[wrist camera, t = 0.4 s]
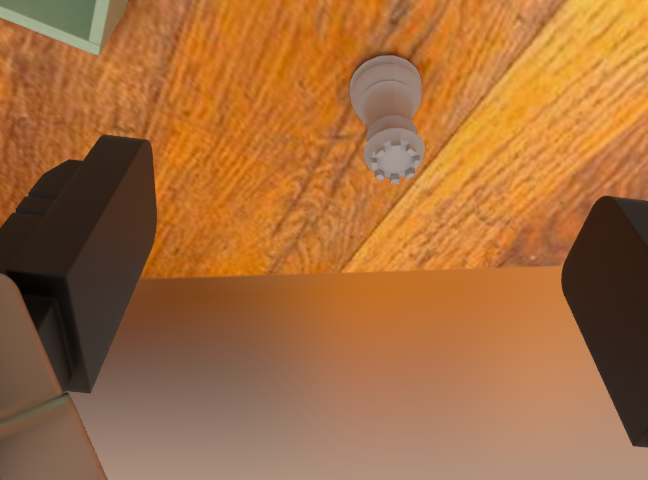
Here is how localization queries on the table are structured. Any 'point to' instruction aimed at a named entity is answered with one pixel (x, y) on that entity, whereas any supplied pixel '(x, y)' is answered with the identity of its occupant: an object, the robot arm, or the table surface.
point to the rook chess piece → (389, 115)
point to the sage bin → (68, 19)
